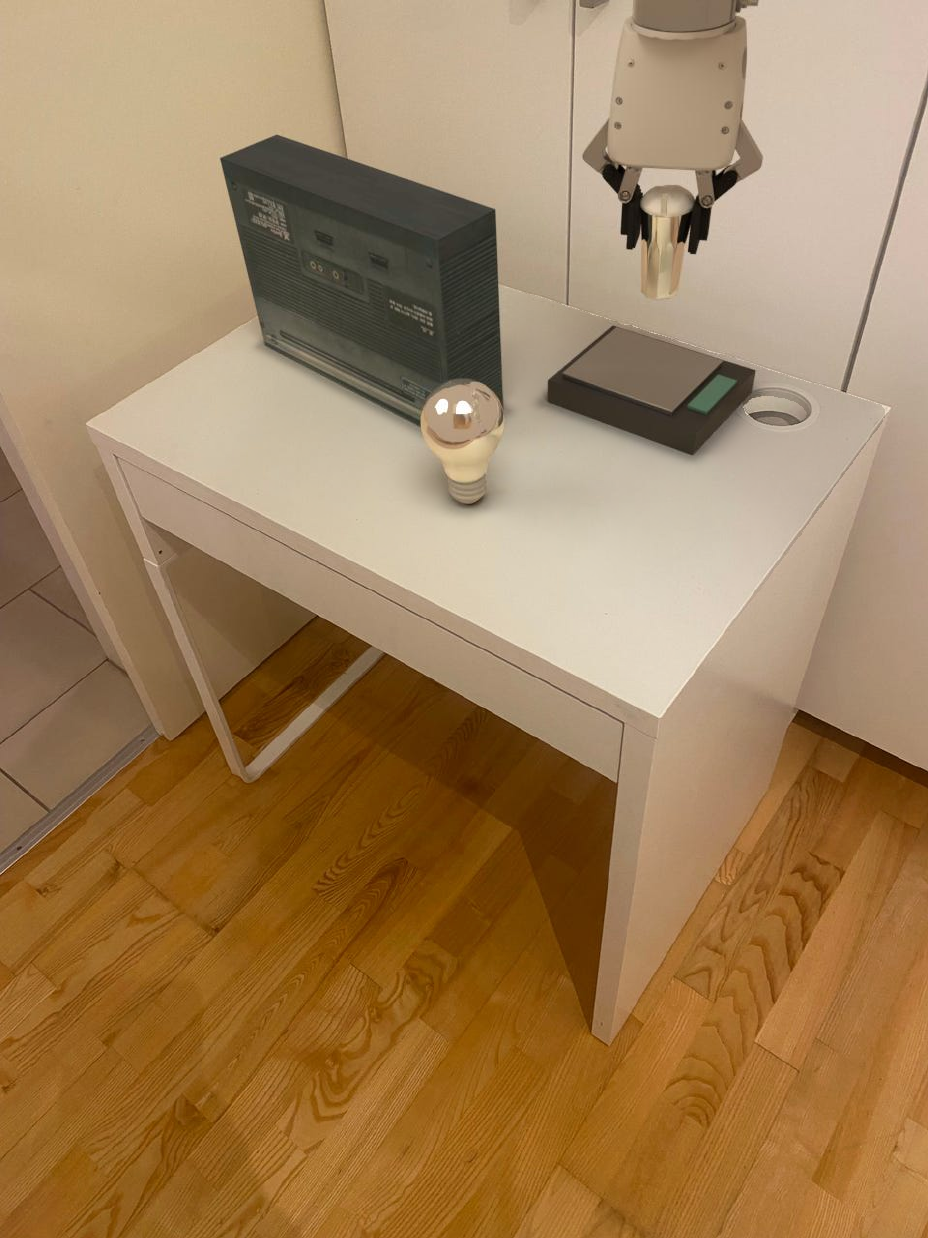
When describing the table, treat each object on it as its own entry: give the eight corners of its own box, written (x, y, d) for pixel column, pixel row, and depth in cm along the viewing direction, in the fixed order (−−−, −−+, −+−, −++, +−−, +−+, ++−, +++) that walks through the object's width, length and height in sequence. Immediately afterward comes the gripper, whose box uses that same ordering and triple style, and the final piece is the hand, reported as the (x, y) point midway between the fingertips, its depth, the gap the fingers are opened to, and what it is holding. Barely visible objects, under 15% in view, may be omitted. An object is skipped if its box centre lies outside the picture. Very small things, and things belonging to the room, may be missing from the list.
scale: (752, 392, 94) (757, 364, 91) (692, 455, 87) (696, 427, 85) (611, 346, 101) (613, 319, 99) (547, 401, 95) (547, 374, 92)
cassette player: (503, 411, 94) (495, 208, 80) (454, 444, 91) (436, 240, 76) (312, 319, 109) (276, 134, 94) (264, 345, 106) (219, 157, 91)
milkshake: (628, 306, 85) (635, 192, 78) (638, 277, 88) (646, 166, 81) (679, 310, 84) (692, 196, 77) (688, 281, 87) (701, 169, 80)
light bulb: (457, 537, 82) (446, 420, 73) (415, 496, 86) (400, 380, 77) (523, 504, 84) (520, 387, 75) (479, 466, 88) (471, 351, 80)
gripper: (808, -12, 70) (767, 232, 83) (581, -14, 74) (576, 219, 87) (803, 19, 65) (760, 273, 78) (559, 16, 69) (558, 257, 83)
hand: (663, 242), depth 83 cm, fingers closed on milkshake, 4 cm apart
